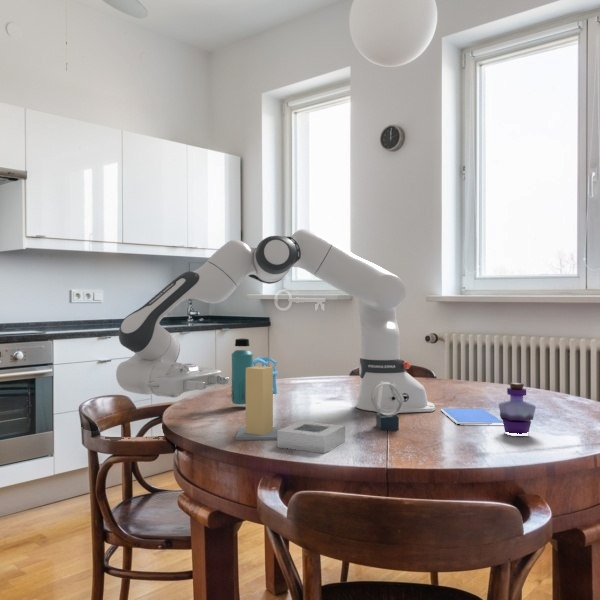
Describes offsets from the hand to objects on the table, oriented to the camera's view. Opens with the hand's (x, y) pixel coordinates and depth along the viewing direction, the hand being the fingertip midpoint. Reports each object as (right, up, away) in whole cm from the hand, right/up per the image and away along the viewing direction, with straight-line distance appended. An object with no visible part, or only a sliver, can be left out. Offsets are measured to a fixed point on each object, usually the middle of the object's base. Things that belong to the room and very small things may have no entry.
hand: (216, 383), depth 140 cm
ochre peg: (+11, -11, -5) cm, 16 cm away
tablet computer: (+66, -12, +14) cm, 68 cm away
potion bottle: (+71, -11, -5) cm, 72 cm away
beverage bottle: (+4, -11, +28) cm, 30 cm away
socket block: (+23, -11, -14) cm, 29 cm away
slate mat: (+11, -11, -5) cm, 16 cm away
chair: (+8, -11, +54) cm, 56 cm away
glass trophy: (+42, -11, +2) cm, 43 cm away
